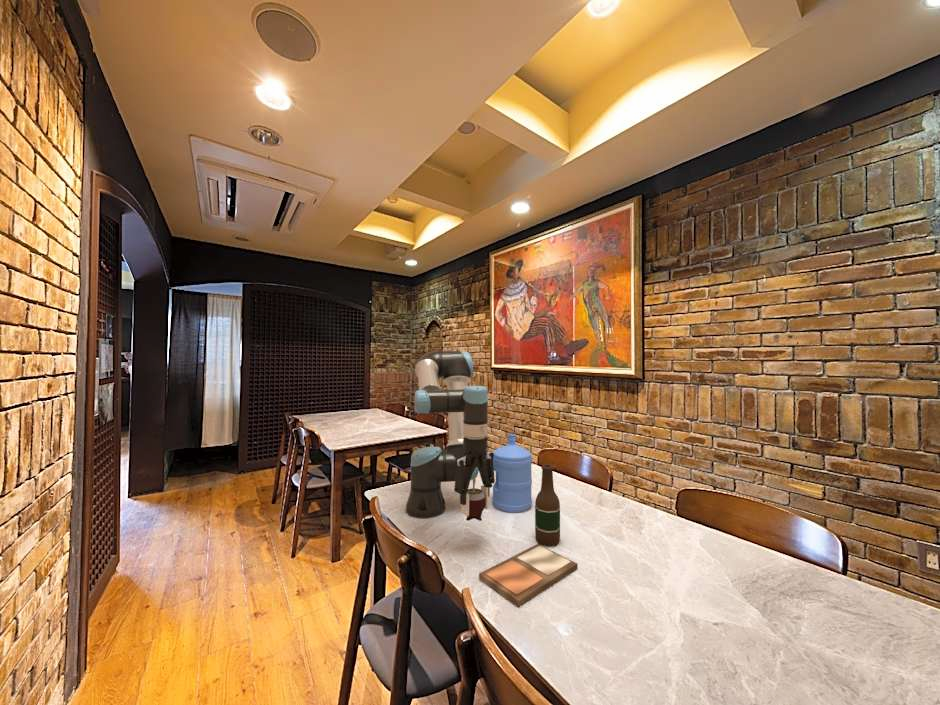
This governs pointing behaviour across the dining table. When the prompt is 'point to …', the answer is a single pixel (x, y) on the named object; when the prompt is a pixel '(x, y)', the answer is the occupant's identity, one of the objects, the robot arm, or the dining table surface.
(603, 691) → the dining table surface
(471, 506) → the mate gourd
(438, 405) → the robot arm
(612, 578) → the dining table surface
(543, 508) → the beer bottle
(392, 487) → the dining table surface
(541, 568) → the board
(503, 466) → the water jug
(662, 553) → the dining table surface
